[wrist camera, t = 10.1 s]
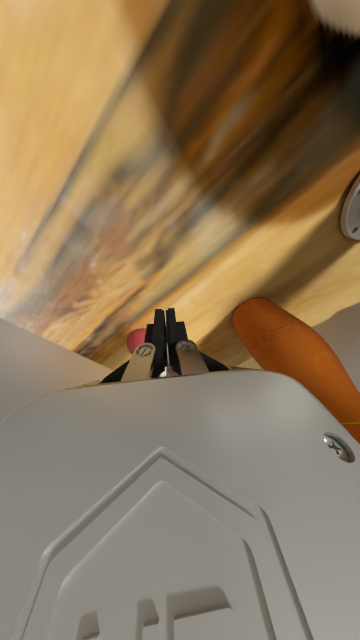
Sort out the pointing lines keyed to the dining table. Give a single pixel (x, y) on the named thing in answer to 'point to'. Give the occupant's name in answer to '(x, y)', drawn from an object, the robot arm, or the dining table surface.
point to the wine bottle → (298, 357)
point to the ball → (136, 339)
